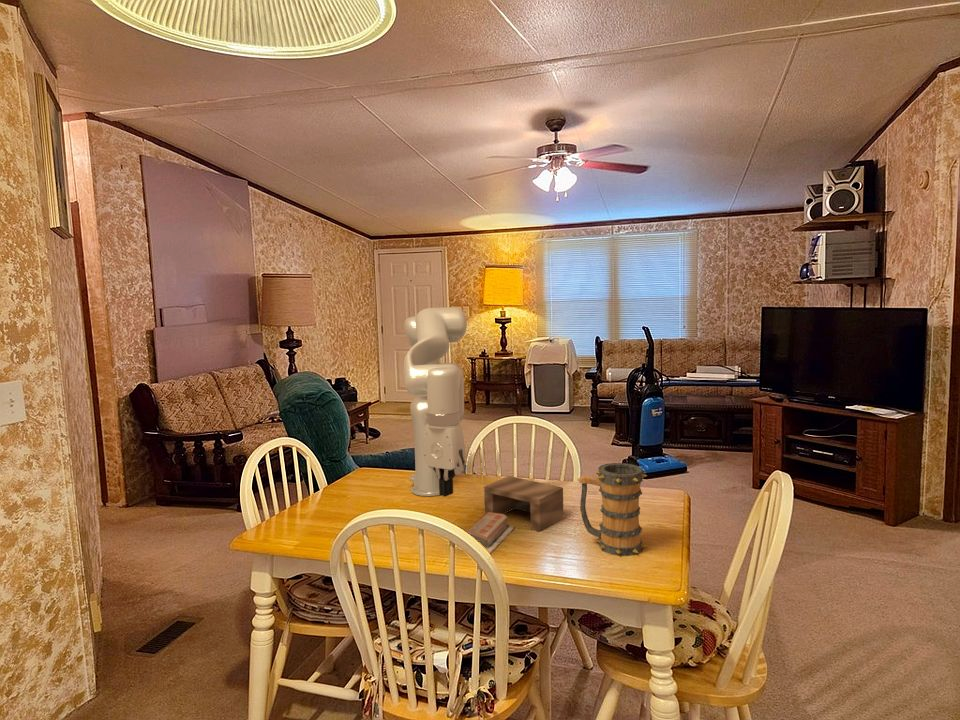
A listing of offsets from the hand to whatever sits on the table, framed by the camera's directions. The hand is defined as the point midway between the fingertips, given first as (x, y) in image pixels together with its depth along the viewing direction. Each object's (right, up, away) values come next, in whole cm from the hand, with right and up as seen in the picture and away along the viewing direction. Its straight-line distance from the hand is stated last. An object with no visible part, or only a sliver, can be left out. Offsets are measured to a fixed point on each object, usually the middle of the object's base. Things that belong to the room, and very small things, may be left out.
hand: (446, 494), depth 141 cm
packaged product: (+10, -15, +12) cm, 22 cm away
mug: (+41, -15, +6) cm, 44 cm away
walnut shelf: (+21, -13, +26) cm, 36 cm away
